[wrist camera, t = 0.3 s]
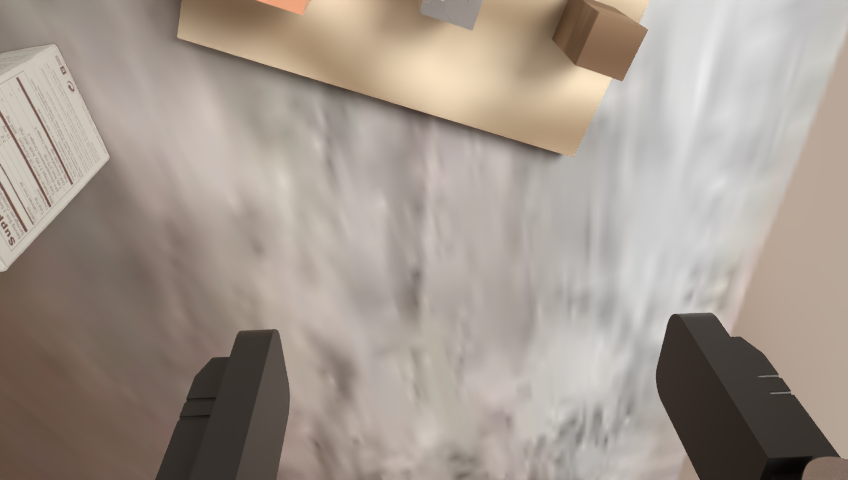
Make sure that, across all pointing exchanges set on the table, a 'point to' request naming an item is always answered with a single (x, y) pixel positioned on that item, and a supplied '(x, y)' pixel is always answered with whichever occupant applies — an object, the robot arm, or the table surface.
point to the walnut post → (598, 37)
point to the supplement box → (40, 145)
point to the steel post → (452, 11)
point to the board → (424, 58)
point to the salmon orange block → (289, 5)
